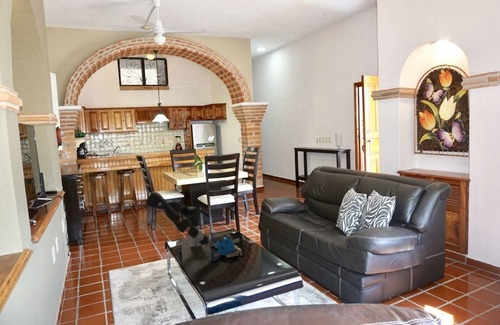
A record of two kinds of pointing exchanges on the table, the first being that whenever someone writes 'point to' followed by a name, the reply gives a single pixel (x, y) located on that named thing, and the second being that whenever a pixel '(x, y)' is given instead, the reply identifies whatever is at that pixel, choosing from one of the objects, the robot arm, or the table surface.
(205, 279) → the table surface
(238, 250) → the wooden staple shape
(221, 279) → the table surface
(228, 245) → the alarm clock
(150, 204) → the robot arm
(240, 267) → the table surface
